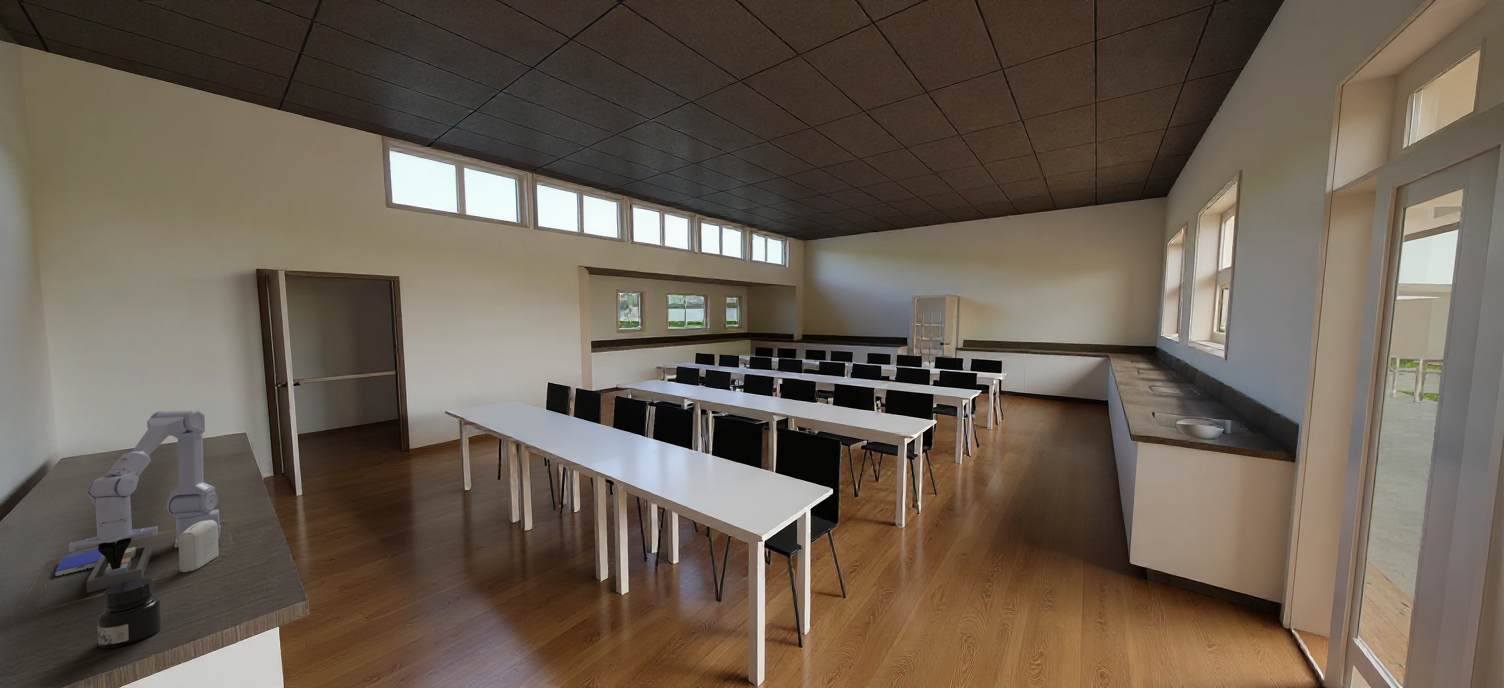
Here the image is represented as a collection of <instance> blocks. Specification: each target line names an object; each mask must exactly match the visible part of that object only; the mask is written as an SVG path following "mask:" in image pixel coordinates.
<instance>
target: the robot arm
mask: <svg viewBox="0 0 1504 688" xmlns="http://www.w3.org/2000/svg"><path fill="white" fill-rule="evenodd" d="M205 421H206V420H205V414H204V413H203V412H201V411H200V410H197V409H192V410H172V411H171V410H170V411H169V410H168V411H167V410H165V411H163V410H159V411H155V412H154V413H152V415H151V416H150V417H149V419H148V420H147V421H146V427H147V430H146V431H145V433H144V435H142V436H141V439H140V440H139V442H138V443H137V444H136V445H135V447H134V449H132V451H129V452H125V453H124V454H122V455H121V456H120V457H119V458H118V460H117V461H116V462H115V463H114V464H113V465H112V466H111V468H110V469H109V470H108V471H107V472H106V473H105V474H104V476H101V477H98V478H97V479H95V480H93V481H92V482H90V484H89V486H88V489H87V490H86V495H87V496H88V498H90V499H91V504H92V505H93V506H95V516H96V517H95V518H96V536H94V537H90V538H85V539H81V540H78V541H72V542H70V543H69V544H68V552H69V553H71V552H76V551H77V550H78V551H79V550H81V549H88V548H92V547H98V548H97V549H98V551H99V552H100V553H101V554H103V555H104V556H105V558H106V559H107V560H108V562H109V563H110V565H111V568H112V570H113V569H117V568H120V567H121V563H122V559H123V556H124V553H125V551H126V549H127V548H129V545H130V544H131V542H132V540H133V539H139V538H142V537H148V536H157V535H158V533H159V531H158V526H157V525H156V526H155V525H154V526H150V527H143V528H133V525H132V523H133V522H132V505H131V504H132V503H131V494H133V493H134V492H135V491H136V489H137V487H138V482H139V480H140V475H141V474H142V473H143V471H144V470H145V469H146V468H147V466H149V465H150V463H151V462H152V459H151V457H150V455H151V454H152V453H153V452H155V451H156V450H157V448H158V447H159V446H161V444H162V443H163V442H164V441H165V440H166V439H167V438H168V437H170V436H172V437H174V438H175V439H177V461H178V462H177V463H178V464H177V466H178V468H177V470H178V475H177V476H178V486H177V487H176V488H175V489H173V490H172V491H171V492H169V493H168V500H167V502H166V507H165V508H166V511H167V513H168V514H169V515H172V518H175V523H176V539H175V543H174V546H173V547H174V548H175V549H176V548H179V537H180V535H181V534H182V533H183V532H184V531H185V530H186V529H188V528H189V527H190V526H192V525H194V524H196V523H198V522H201V521H207V520H213V521H215V522H216V523H217V525H218V539H220V535H221V534H220V533H221V531H222V525H220V511H219V510H220V509H215V508H216V506H217V505H218V502H219V499H218V498H219V497H218V495H217V493H216V487H215V486H213V485H211V484H210V483H209V484H208V483H207V482H204V480H205V479H204V443H203V442H204V439H203V433H205V432H206V426H205V424H206V422H205Z"/></svg>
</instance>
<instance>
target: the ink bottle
mask: <svg viewBox="0 0 1504 688" xmlns="http://www.w3.org/2000/svg"><path fill="white" fill-rule="evenodd" d="M153 582H154V581H153V577H143V578H140V579H134V580H130V581H126V582H123V583H120V584H117V585H114V586H112V587H110V588H106V589H105V590H104V591H103V598H104V600H103V602H104V608H105V610H104V611H102V612H101V613H100V615H99V616H98V617H97V622H96V625H97V641H98V642H97V643H98V646H99V647H100V648H103V649H116V648H120V646H121V647H124V646H123V645H125V646H128V645H131V644H134V643H136V642H137V643H138V642H139V641H142V640H143V639H146V638H149V637H151V636H153V635H154V634H156V633H157V632H159V631H160V630H161V628H162V627H163V626H162V625H163V619H162V618H163V617H162V615H163V613H162V602H161V599H160V598H157V597H154V596H153V595H154V583H153ZM127 644H128V645H127ZM115 647H116V648H115Z"/></svg>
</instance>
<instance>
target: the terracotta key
mask: <svg viewBox="0 0 1504 688" xmlns="http://www.w3.org/2000/svg"><path fill="white" fill-rule="evenodd" d="M125 563H128V565H129V568H130V566H131V557H129V558H125V559H122V563H121V564H125ZM108 567H111V565H110V563H109V565H108Z"/></svg>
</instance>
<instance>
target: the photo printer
mask: <svg viewBox="0 0 1504 688" xmlns="http://www.w3.org/2000/svg"><path fill="white" fill-rule="evenodd" d="M219 551H220V550H219V538H218V525H217V523H216V522H215V521H213V520H207V521H201V522H198V523H196V524H194V525H192V526H190V527H189V528H188V529H186V530H185V531H184V532H183V533H182V534H181V535H180V537H179V547H178V558H179V559H178V560H179V571H180V572H182V573H189V571H190V572H194V571H195V570H198V569H200V568H202V567H204V566H205V565H206V564H208V563H210V562H211V561H212V560H214V559H216V558H217V557H219V554H220V553H219Z"/></svg>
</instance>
